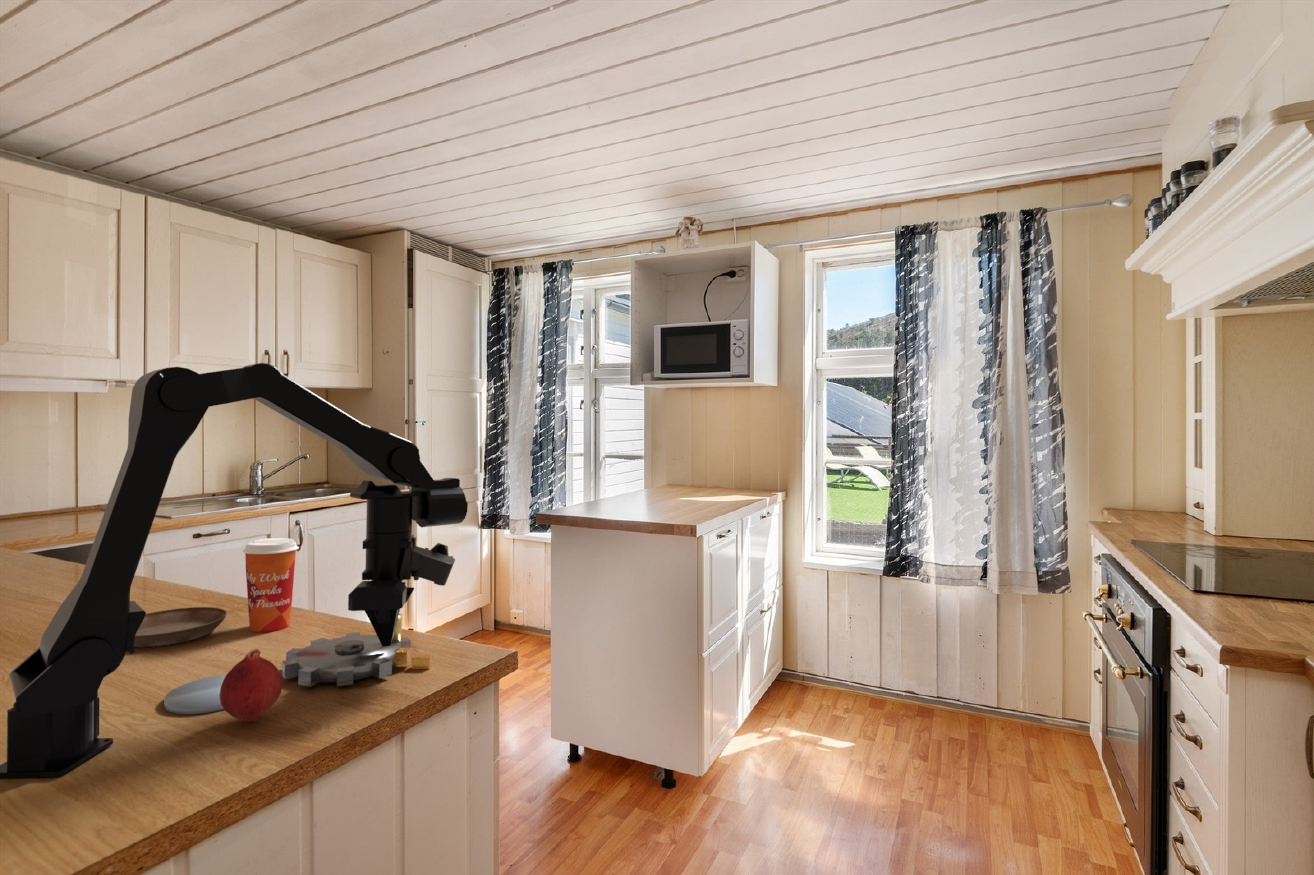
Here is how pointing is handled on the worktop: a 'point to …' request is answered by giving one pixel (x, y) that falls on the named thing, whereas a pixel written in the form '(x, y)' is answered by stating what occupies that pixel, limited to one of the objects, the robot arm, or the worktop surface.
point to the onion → (250, 687)
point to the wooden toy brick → (422, 661)
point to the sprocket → (346, 658)
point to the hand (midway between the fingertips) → (386, 645)
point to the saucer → (177, 625)
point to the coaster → (196, 696)
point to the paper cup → (270, 582)
